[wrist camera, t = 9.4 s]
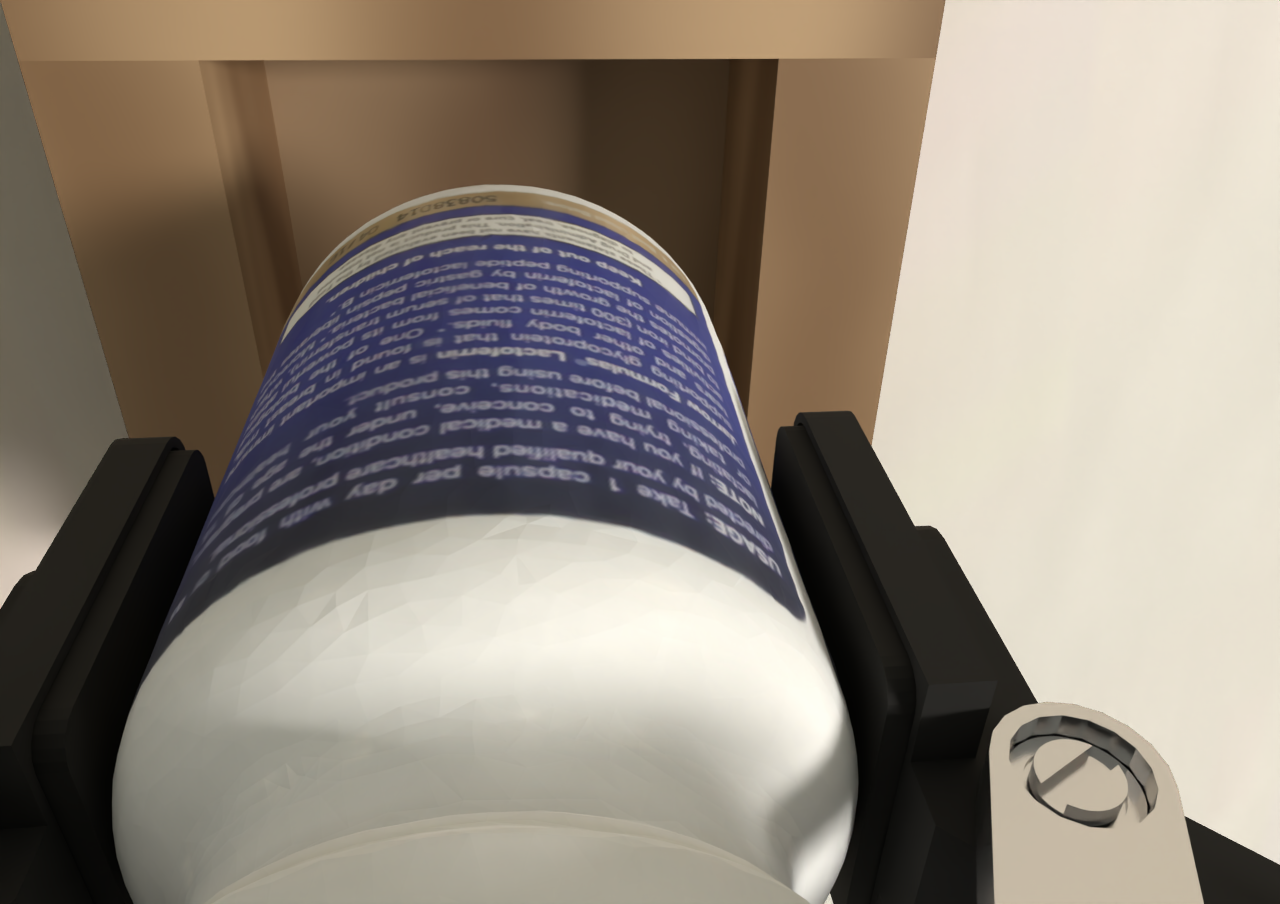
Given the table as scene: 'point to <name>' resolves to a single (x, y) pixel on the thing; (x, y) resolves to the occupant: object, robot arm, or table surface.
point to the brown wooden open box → (478, 167)
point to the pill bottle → (491, 599)
